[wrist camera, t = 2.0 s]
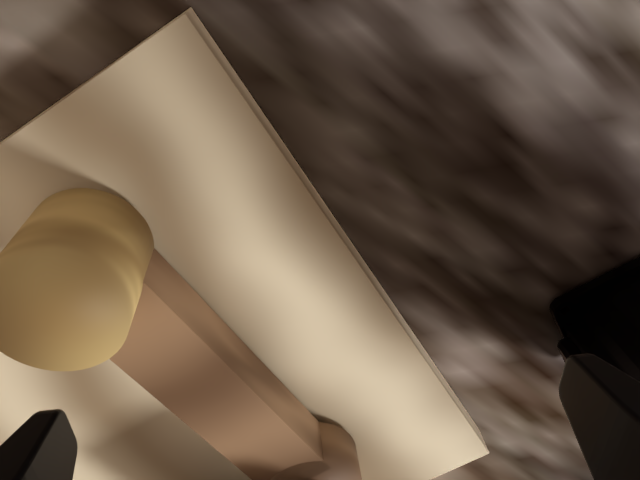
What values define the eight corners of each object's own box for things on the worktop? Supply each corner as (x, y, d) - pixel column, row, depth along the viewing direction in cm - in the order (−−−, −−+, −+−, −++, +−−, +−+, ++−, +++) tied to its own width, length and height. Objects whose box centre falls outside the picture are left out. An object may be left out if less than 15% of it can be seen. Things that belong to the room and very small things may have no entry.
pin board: (191, 7, 16) (149, 53, 10) (478, 428, 27) (540, 567, 21) (-303, 357, 20) (-538, 534, 14) (123, 592, 32) (91, 744, 26)
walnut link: (372, 458, 25) (390, 542, 22) (294, 494, 26) (300, 581, 22) (100, 162, 16) (58, 224, 13) (-4, 231, 17) (-70, 307, 14)
